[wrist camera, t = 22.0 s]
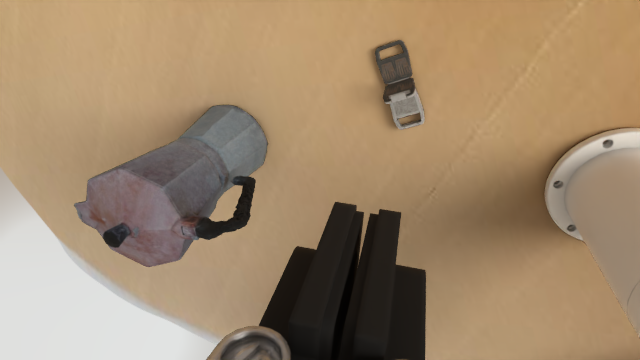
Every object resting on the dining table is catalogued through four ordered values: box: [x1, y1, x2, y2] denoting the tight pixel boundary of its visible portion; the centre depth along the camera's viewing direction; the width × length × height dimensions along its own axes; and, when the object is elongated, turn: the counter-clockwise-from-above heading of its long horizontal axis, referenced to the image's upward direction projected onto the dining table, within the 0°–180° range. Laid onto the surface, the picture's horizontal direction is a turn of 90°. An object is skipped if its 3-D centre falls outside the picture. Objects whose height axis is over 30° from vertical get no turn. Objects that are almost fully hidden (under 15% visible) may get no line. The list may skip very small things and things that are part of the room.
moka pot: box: [74, 105, 268, 267], centre depth 38 cm, size 10×15×20 cm, turn 96°
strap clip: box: [375, 40, 425, 129], centre depth 38 cm, size 8×3×4 cm, turn 21°
